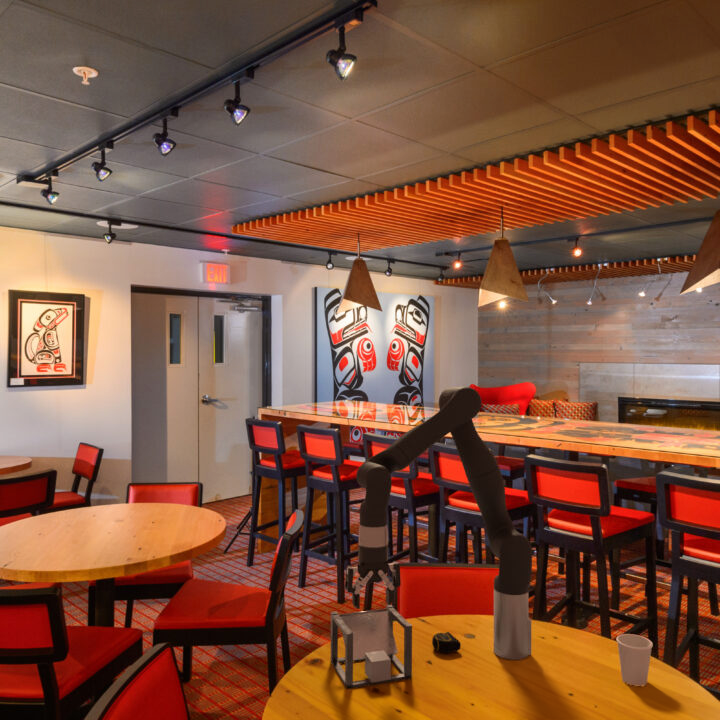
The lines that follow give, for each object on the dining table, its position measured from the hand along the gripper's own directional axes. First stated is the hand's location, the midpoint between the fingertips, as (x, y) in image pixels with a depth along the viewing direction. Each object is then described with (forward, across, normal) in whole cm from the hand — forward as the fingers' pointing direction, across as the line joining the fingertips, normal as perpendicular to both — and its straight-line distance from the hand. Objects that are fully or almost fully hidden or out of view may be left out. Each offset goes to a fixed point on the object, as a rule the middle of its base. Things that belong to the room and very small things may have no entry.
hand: (372, 605), depth 160 cm
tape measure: (+18, -24, -7) cm, 31 cm away
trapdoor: (+9, 0, -4) cm, 10 cm away
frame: (+17, 0, -2) cm, 17 cm away
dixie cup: (+17, -61, +24) cm, 68 cm away
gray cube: (+14, 0, +1) cm, 14 cm away
